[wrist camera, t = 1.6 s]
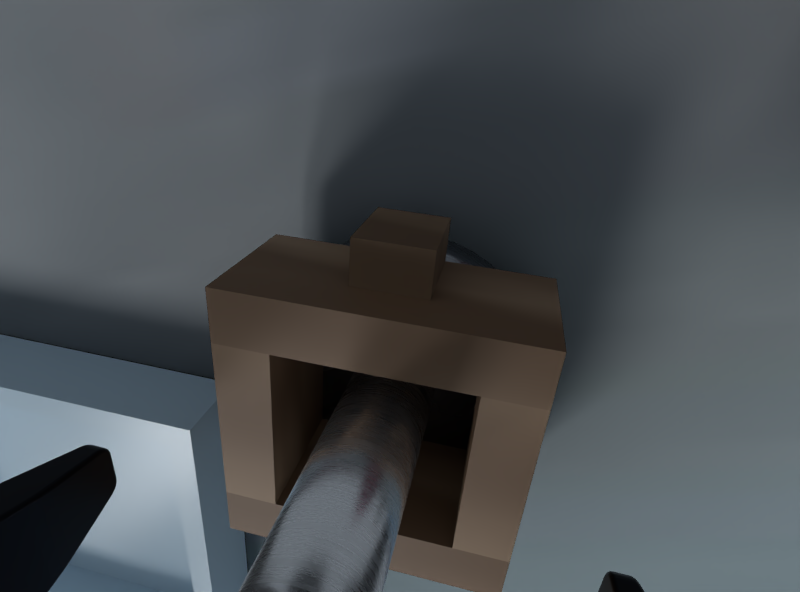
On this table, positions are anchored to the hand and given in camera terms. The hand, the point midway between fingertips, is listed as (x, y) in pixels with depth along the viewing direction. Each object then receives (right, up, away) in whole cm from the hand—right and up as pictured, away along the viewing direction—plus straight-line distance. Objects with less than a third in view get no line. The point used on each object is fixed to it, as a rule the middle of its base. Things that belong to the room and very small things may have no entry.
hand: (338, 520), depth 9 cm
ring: (+1, +2, +4) cm, 5 cm away
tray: (-10, -3, +10) cm, 15 cm away
